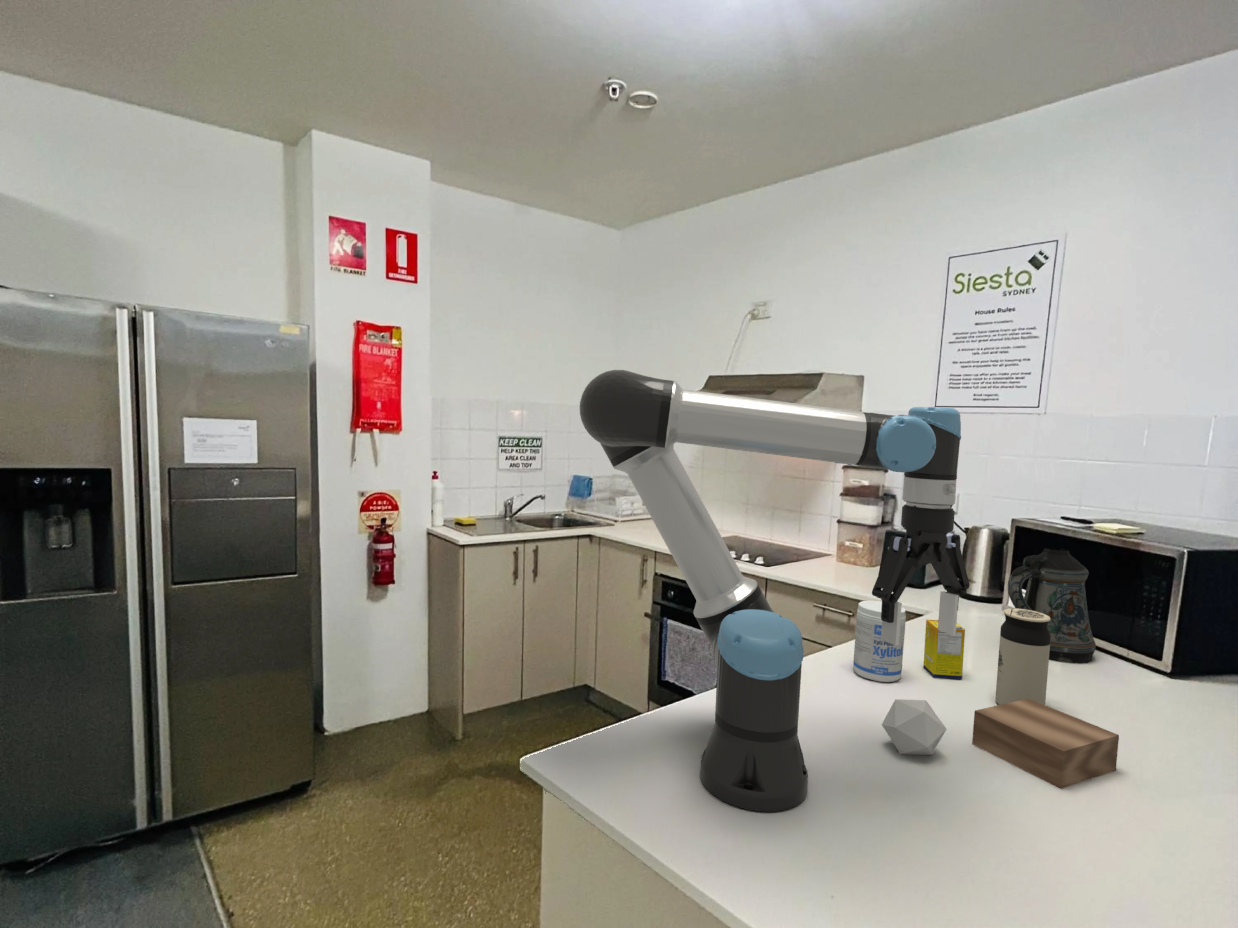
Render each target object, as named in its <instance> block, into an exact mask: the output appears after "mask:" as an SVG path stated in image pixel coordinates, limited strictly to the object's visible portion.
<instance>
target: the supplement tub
mask: <svg viewBox="0 0 1238 928" xmlns="http://www.w3.org/2000/svg"><path fill="white" fill-rule="evenodd" d="M857 605H858V606H857V612H856V623H855V633H854V634H855V636H854V650H853V664H852V667H853V671H854V672H855V673H856V674H857V675H858V676H860V677H862V678H863V679H864V678H865V679H868V680H871V681H876V682H880V683H881V682H882V683H891V682H896V681H898V680H900V679H901V677H902V671H903V656H904V647H905V634H906V620H907V619H906V618H907V615H906V609H905V607H903V606H901V621H900V636H899V645H894V644H891V643H888V642H886V641H883V640H881V632H882V620H881V609H882V600H881V601H880V600H864V601H860V602H859V603H858V604H857Z"/></svg>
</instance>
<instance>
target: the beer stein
mask: <svg viewBox="0 0 1238 928" xmlns="http://www.w3.org/2000/svg"><path fill="white" fill-rule="evenodd" d="M1089 574H1090V572H1089V570H1088V569H1087V567H1086V566H1084V565H1083V564H1081V562H1079V560H1077V559H1076V558H1075V557H1073V556H1072V555H1071V553H1070V550H1069V549H1065V548H1062V547H1051V546H1050V547H1045V548H1044V549H1043V551H1042V552H1041V553H1039V554H1034V555H1027V556H1025V557H1023V560H1022V566H1018V567H1016V568H1015V569H1013V570H1012V572H1011V575H1010V576H1009V578H1008V581H1007V592H1008V593H1007V594H1008V596H1009V599H1010V601H1011V603H1012V605H1013V607H1014V608H1016V609H1026V610H1032V611H1036V612H1040V613H1043V614H1045V615H1047V616H1049V617H1050V621H1049V622H1048V625H1047V629H1048V631H1049V633H1050V635H1051V639H1050V651H1049V661H1053V662H1057V663H1058V662H1059V663H1066V664H1085V663H1086V664H1087V663H1090V662H1092V661H1093V655H1094V653H1095V651H1096V646H1097V645H1096V642H1095V639H1094V636H1093V631H1092V628H1091V625H1090V618H1089V612H1088V605H1087V601H1088V600H1087V596H1086V595H1087V593H1086V581H1087V579H1088V577H1089ZM1027 580H1028V582H1027V585H1026V589H1025V593H1024V594H1023V585H1024V583H1025V582H1026V581H1027Z"/></svg>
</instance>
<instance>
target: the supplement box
mask: <svg viewBox="0 0 1238 928" xmlns="http://www.w3.org/2000/svg"><path fill="white" fill-rule="evenodd" d="M924 636H925V637H924V648H923V649H924V652H923V653H924V654H923V666H922V667H923V669H924V670H925V671H926V673H928V674H929V675H930V676H931V677H932V678H935V679H936V678H938V679H951V680H952V679H953V680H962V679H963V669H964V668H963V667H964V653H965V652H964V651H965V637H966V629H965V628H964V627H963V626H961V625H960V624H958V623H956V634H955V635H952V634H949V633H946V632H943V631H940V630H938V619H926V621H925V634H924Z"/></svg>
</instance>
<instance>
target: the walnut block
mask: <svg viewBox="0 0 1238 928" xmlns="http://www.w3.org/2000/svg"><path fill="white" fill-rule="evenodd" d="M973 713H974V714H973V715H974V716H973V725H972V726H973V728H972V741H971V742H972V743H971V744H972V745H973V746H975V747H978V748H979V749H981V750H983V751H985V752H987V753H989V754H991V755H993V756H995V757H996V758H999V759H1000V760H1002V761H1005V762H1006V763H1008V764H1010V765H1012V766H1014V767H1016V768H1019V769H1020V770H1022V771H1024V772H1026V773H1028V774H1030V775H1032V776H1034V777H1035V778H1038V779H1040V780H1042V781H1043V782H1046V783H1048V784H1050V785H1051V786H1054V787H1055V788H1057V789H1059V790H1061V789H1064V788H1068V787H1071V786H1073V785H1074V786H1075V785H1077V784H1079V783H1082V782H1086V781H1088V780H1091V779H1095V778H1097V777H1101V776H1103V775H1107V774H1109V773H1112V772H1115V771H1116V770H1117V762H1118V761H1117V760H1118V750H1119V740H1120V739H1119V738H1120V735H1119V734H1117V733H1115V732H1112V731H1109V730H1108V729H1105V728H1102V727H1101V726H1097V725H1095V724H1093V723H1090V722H1088V721H1085V720H1082V719H1080V718H1078V717H1075V716H1074V715H1070V714H1068V713H1066V712H1063V711H1060V710H1058V709H1056V708H1053V707H1051V706H1049V705H1047V704H1045V705H1044V704H1041V703H1039V702H1036V701H1034V700H1031V699H1029V698H1028V699H1024V700H1019V701H1015V702H1010V703H1006V704H1002V705H999V704H997V705H993V706H990V707H984V708H980V709H975V710H974V712H973Z"/></svg>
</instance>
